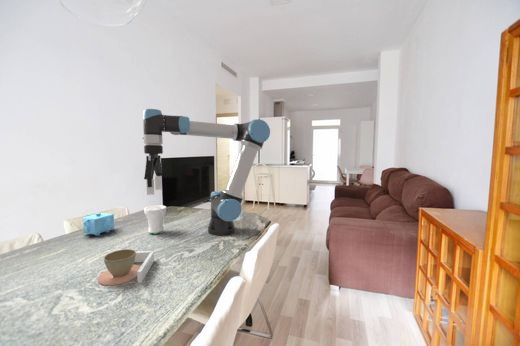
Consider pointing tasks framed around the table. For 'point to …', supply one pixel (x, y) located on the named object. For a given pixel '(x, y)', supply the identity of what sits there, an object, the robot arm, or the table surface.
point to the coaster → (109, 279)
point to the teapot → (98, 223)
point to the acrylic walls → (148, 261)
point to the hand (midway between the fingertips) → (154, 191)
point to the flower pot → (120, 262)
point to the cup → (155, 218)
